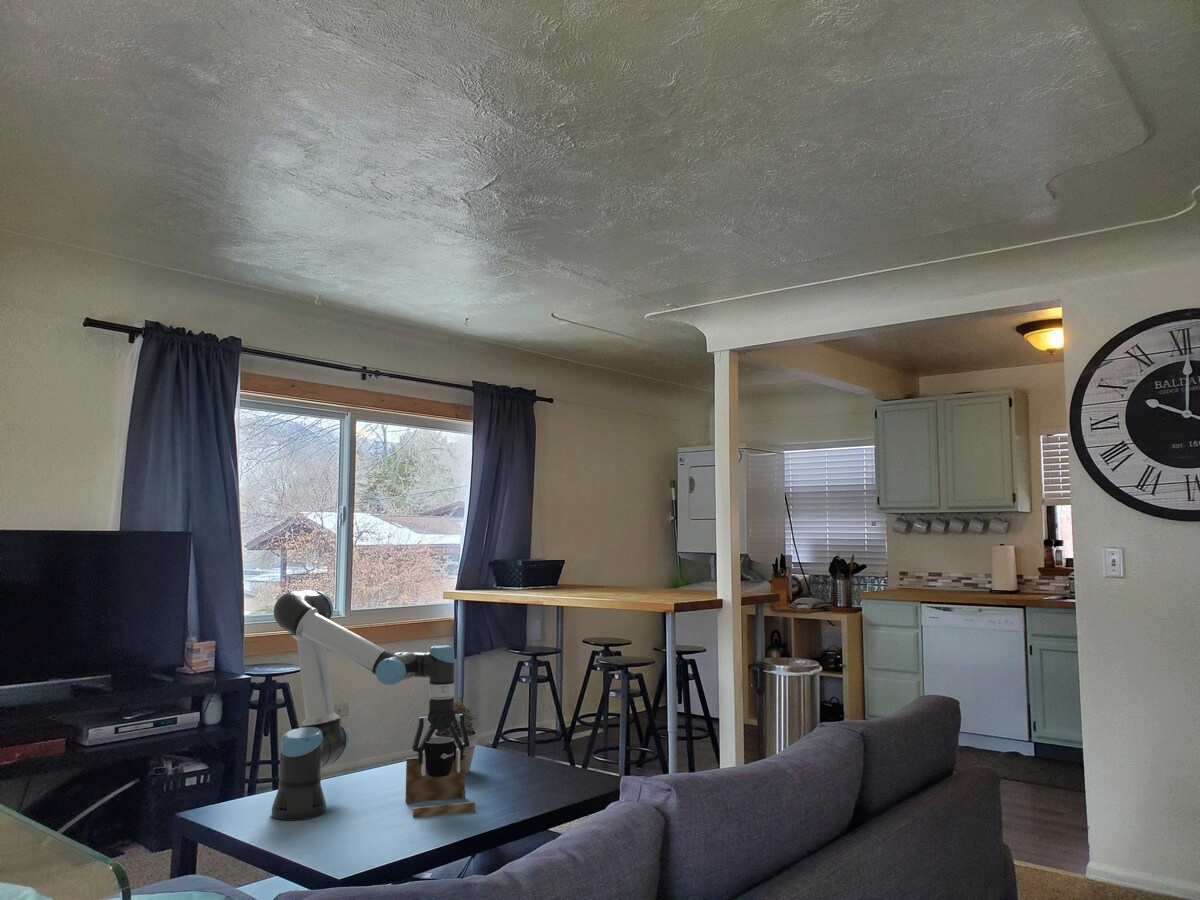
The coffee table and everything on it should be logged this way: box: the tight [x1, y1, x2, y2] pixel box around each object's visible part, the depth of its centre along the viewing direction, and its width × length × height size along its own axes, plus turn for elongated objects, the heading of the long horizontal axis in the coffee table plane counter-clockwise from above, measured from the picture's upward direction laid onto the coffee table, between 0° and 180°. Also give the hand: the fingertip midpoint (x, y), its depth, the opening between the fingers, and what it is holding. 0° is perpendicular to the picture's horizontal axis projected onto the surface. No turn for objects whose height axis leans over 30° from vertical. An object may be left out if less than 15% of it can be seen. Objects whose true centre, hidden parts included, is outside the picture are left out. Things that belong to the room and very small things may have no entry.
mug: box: [424, 737, 457, 777], centre depth 265 cm, size 12×9×10 cm
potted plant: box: [432, 701, 480, 775], centre depth 306 cm, size 18×20×25 cm
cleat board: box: [405, 753, 476, 818], centre depth 264 cm, size 18×17×13 cm
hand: (440, 773), depth 264 cm, fingers closed on mug, 10 cm apart
